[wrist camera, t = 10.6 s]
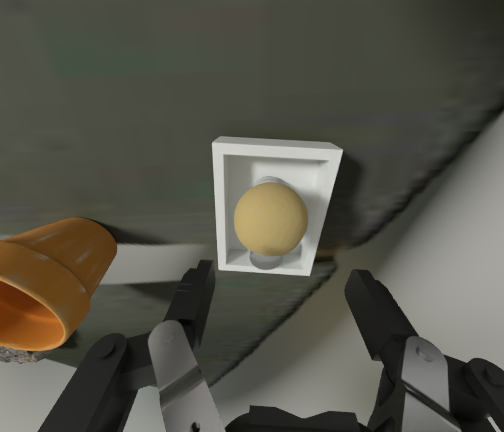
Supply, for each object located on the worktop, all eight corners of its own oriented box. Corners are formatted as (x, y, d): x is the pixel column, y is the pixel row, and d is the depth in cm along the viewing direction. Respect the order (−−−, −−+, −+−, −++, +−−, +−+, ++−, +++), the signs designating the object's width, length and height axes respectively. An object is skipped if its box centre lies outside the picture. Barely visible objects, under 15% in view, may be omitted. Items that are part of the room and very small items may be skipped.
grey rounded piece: (251, 224, 26) (250, 243, 22) (282, 226, 26) (285, 245, 22) (250, 248, 28) (248, 268, 24) (278, 250, 28) (281, 271, 24)
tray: (222, 134, 23) (212, 142, 18) (326, 140, 23) (343, 150, 18) (225, 244, 31) (218, 269, 26) (302, 249, 31) (309, 275, 26)
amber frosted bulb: (304, 171, 22) (331, 216, 13) (283, 218, 25) (295, 279, 17) (249, 155, 21) (241, 190, 13) (235, 205, 25) (221, 260, 16)
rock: (1, 331, 47) (68, 343, 50) (-33, 362, 42) (45, 374, 44) (-18, 300, 41) (60, 316, 43) (-61, 332, 36) (32, 348, 38)
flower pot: (39, 250, 33) (-75, 325, 22) (42, 182, 27) (-115, 239, 16) (123, 282, 36) (61, 363, 25) (144, 228, 30) (73, 304, 19)
